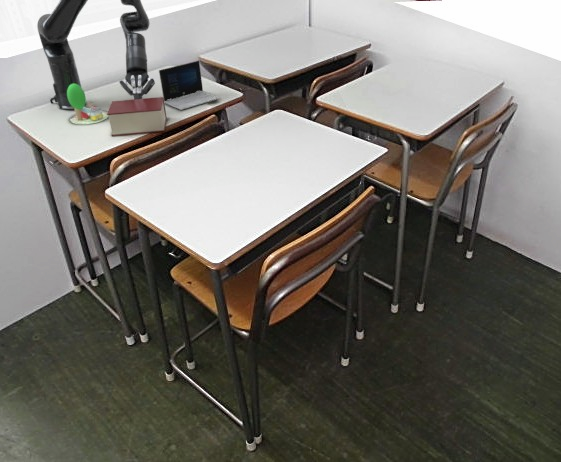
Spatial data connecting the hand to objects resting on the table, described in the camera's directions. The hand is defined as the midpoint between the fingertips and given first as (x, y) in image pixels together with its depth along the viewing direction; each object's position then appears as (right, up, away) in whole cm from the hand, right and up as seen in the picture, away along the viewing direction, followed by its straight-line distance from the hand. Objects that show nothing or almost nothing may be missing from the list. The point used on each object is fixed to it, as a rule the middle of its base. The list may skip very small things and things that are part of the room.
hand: (138, 104), depth 191 cm
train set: (-20, -3, +6) cm, 21 cm away
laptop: (+17, +5, +16) cm, 24 cm away
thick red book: (+2, -9, -4) cm, 10 cm away
